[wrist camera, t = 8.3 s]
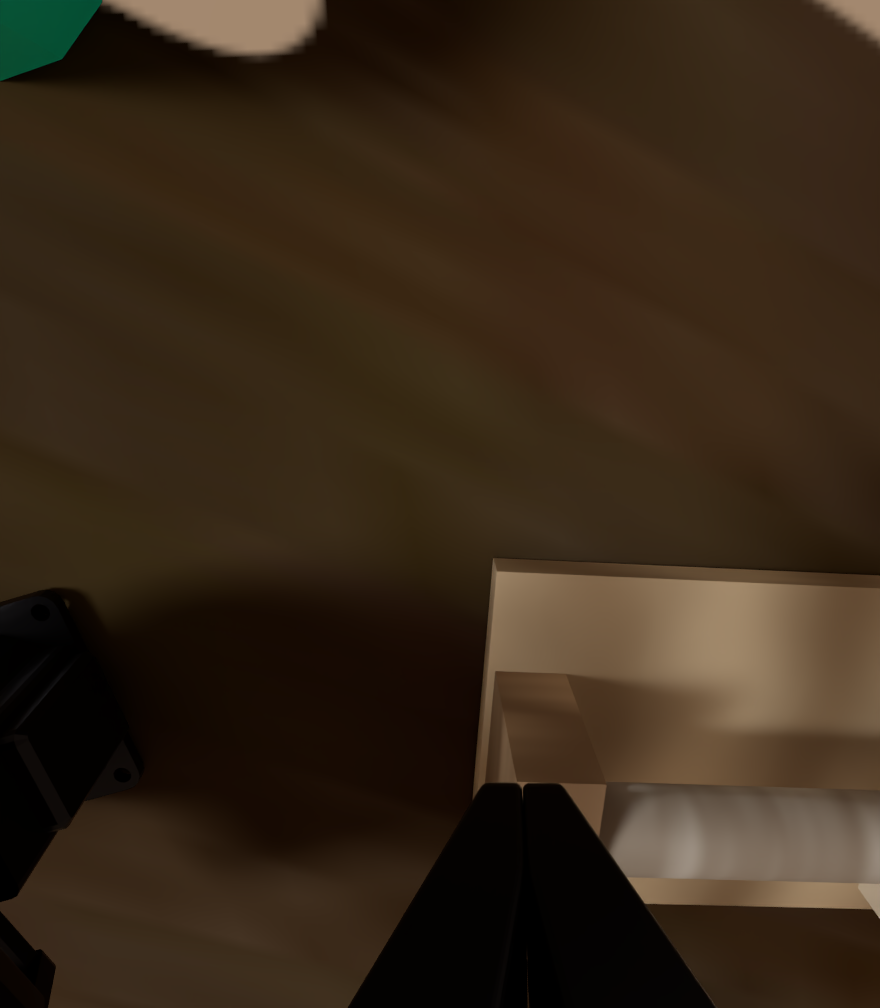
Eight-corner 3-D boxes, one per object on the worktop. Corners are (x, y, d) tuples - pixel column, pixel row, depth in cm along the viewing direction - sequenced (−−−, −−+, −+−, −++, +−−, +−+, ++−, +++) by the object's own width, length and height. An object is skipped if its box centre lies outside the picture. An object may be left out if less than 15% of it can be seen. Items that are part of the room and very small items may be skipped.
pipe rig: (465, 874, 25) (480, 1051, 19) (493, 558, 21) (520, 659, 16) (1001, 888, 25) (1164, 1061, 20) (1106, 585, 22) (1335, 691, 17)
